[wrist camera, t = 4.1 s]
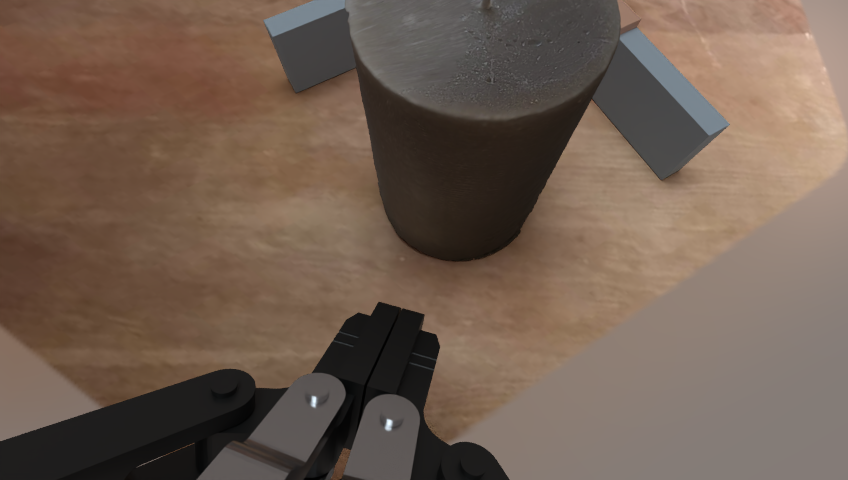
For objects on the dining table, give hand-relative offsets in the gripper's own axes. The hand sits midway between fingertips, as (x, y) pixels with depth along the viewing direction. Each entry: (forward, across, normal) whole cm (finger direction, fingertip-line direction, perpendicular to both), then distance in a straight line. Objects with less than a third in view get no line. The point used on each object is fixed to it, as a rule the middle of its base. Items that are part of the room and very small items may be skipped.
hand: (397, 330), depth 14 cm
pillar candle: (+16, 0, 0) cm, 16 cm away
